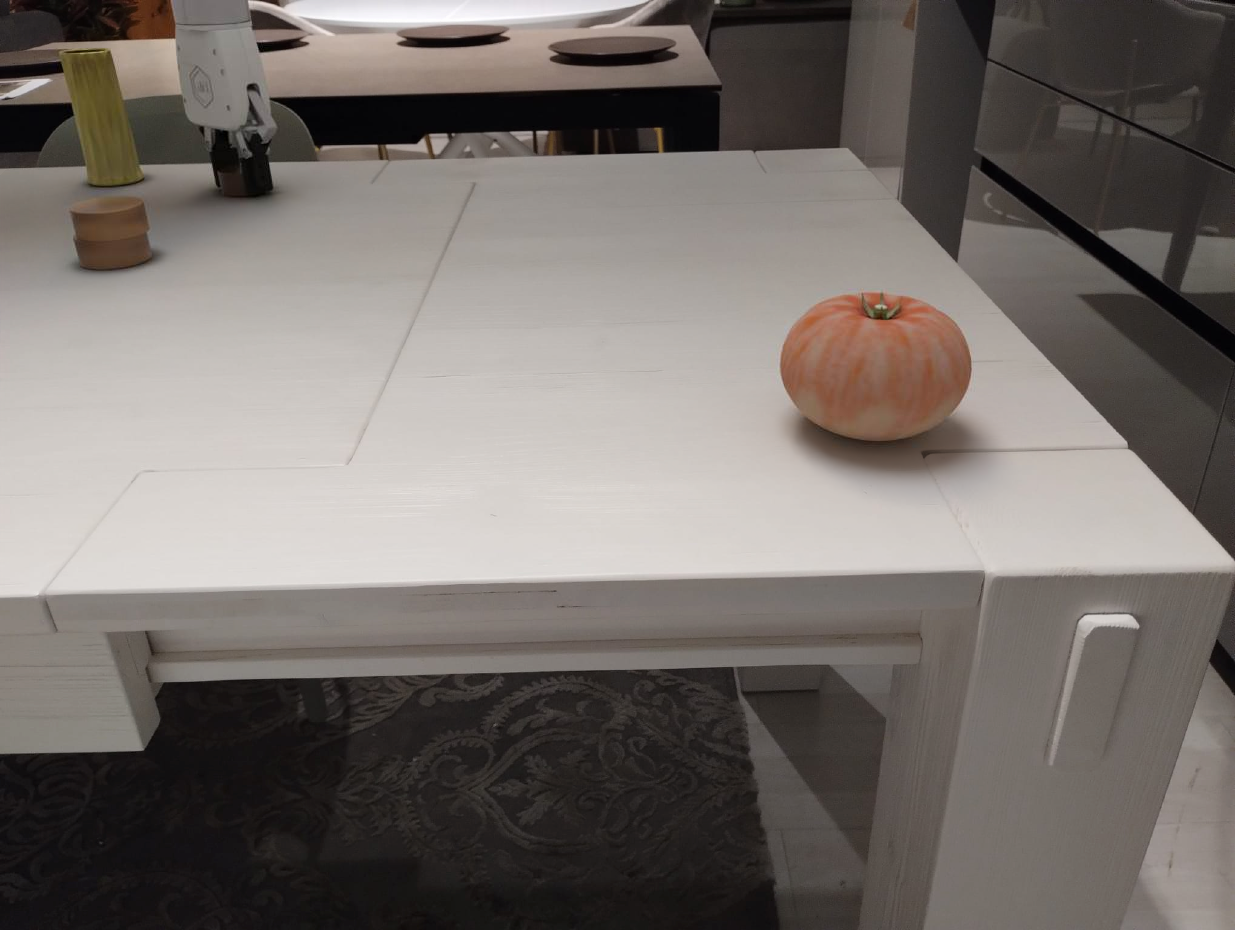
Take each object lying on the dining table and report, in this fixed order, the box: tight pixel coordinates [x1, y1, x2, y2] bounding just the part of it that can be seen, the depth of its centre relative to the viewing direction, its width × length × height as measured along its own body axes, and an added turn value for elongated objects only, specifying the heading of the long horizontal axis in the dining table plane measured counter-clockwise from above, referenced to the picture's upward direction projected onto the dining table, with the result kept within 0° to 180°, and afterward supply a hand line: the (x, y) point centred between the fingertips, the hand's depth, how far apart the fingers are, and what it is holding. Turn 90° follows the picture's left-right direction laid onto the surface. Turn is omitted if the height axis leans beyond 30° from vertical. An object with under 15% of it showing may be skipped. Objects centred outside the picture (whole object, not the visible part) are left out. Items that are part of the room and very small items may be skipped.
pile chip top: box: [68, 195, 150, 242], centre depth 90 cm, size 6×6×2 cm
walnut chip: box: [218, 164, 262, 198], centre depth 113 cm, size 5×5×2 cm
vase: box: [58, 47, 145, 187], centre depth 116 cm, size 6×6×14 cm
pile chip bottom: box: [72, 231, 153, 271], centre depth 91 cm, size 6×6×2 cm
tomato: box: [779, 291, 973, 442], centre depth 59 cm, size 11×11×8 cm
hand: (244, 187), depth 114 cm, fingers closed on walnut chip, 5 cm apart
